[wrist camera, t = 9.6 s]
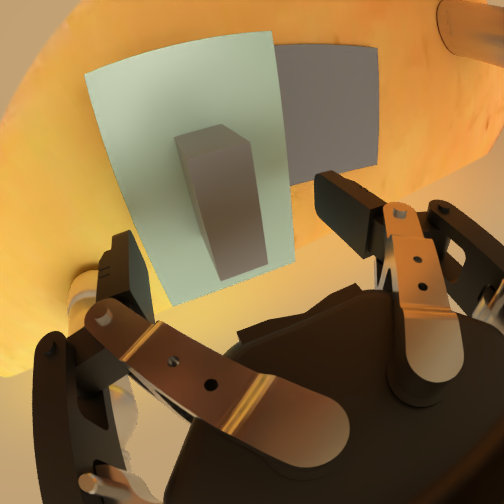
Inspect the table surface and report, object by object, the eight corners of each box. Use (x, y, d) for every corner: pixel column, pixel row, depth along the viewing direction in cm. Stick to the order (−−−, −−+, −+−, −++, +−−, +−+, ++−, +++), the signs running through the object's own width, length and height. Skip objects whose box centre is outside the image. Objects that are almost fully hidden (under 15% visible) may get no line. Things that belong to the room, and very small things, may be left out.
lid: (264, 32, 11) (315, 21, 8) (290, 255, 21) (324, 299, 17) (87, 74, 10) (61, 74, 6) (171, 298, 19) (184, 354, 16)
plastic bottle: (123, 259, 27) (146, 462, 12) (128, 307, 31) (157, 480, 16) (65, 262, 25) (46, 462, 10) (77, 309, 28) (81, 483, 13)
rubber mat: (370, 47, 22) (377, 47, 22) (371, 161, 31) (376, 164, 30) (246, 48, 20) (250, 47, 19) (265, 187, 28) (269, 191, 28)
